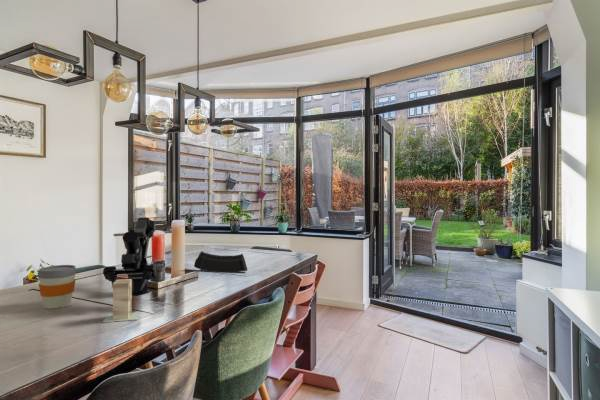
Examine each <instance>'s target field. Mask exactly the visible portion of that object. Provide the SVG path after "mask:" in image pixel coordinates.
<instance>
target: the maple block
mask: <svg viewBox="0 0 600 400" xmlns="http://www.w3.org/2000/svg"><path fill="white" fill-rule="evenodd" d="M132 295H133V294H132V279H128V278H126V279H125V278H122V279H117V280H116V281H115V282H114V283H113V287H112V314H113V320H115V319H128V318H129V317H130V315H131V314H132V313H133V312H132V310H133V309H132V306H133V305H132V304H133V303H132V301H133V300H132V299H133V297H132Z"/></svg>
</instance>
